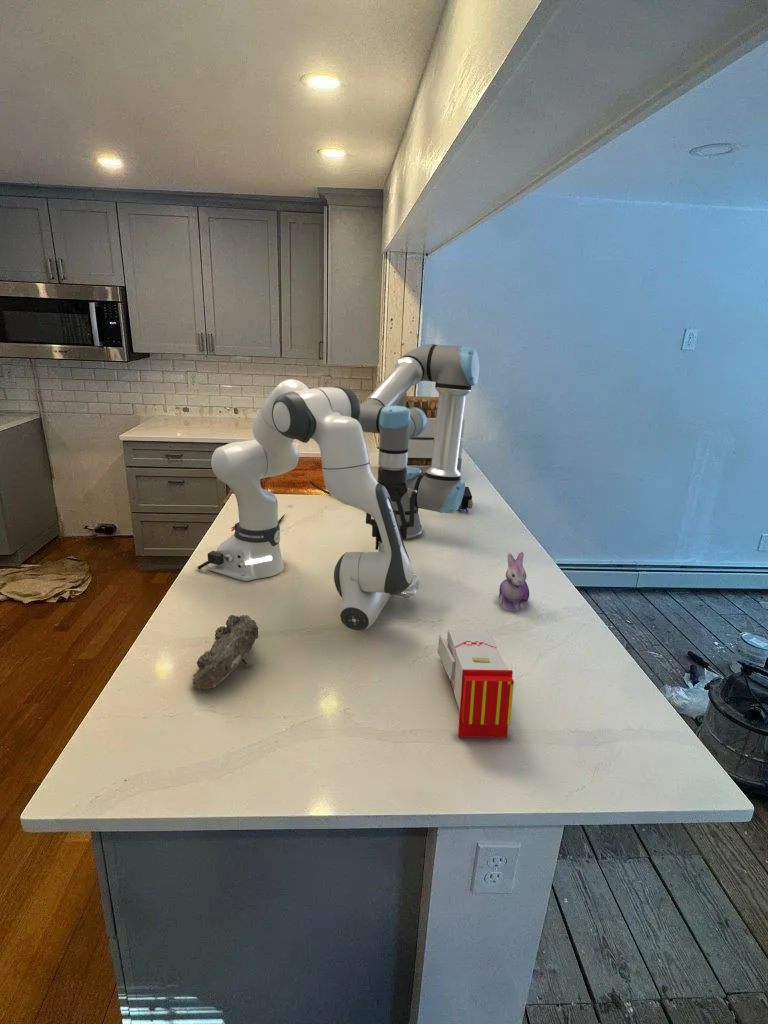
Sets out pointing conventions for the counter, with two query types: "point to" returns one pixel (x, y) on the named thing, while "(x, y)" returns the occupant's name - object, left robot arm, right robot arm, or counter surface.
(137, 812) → the counter surface
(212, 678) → the fossil
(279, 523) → the feather
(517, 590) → the figurine
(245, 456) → the left robot arm
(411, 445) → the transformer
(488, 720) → the toy
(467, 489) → the figurine character
